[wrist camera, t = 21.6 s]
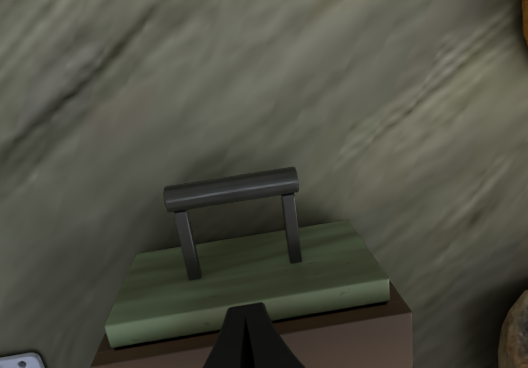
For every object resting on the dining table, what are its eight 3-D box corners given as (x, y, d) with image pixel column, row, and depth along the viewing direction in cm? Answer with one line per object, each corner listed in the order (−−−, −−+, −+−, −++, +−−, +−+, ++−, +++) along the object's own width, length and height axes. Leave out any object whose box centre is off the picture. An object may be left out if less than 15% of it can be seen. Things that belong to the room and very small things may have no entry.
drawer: (114, 174, 21) (68, 224, 15) (342, 139, 21) (386, 174, 15) (180, 414, 27) (166, 519, 21) (359, 382, 27) (396, 476, 21)
